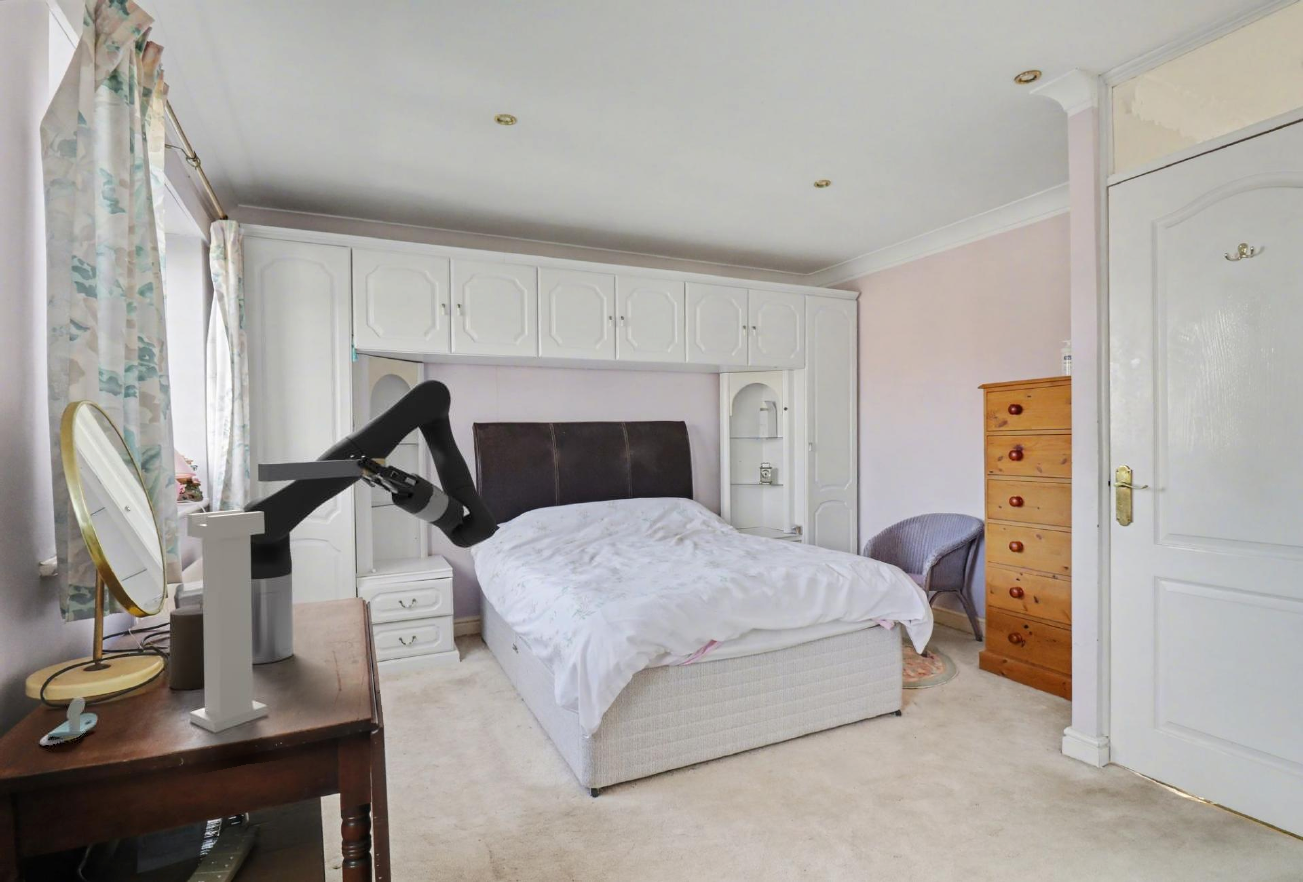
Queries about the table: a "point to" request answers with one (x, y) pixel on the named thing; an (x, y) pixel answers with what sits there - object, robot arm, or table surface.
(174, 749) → the table surface
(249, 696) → the stand
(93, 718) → the pacifier
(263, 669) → the table surface
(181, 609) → the pillar candle
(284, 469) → the bar
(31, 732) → the table surface
